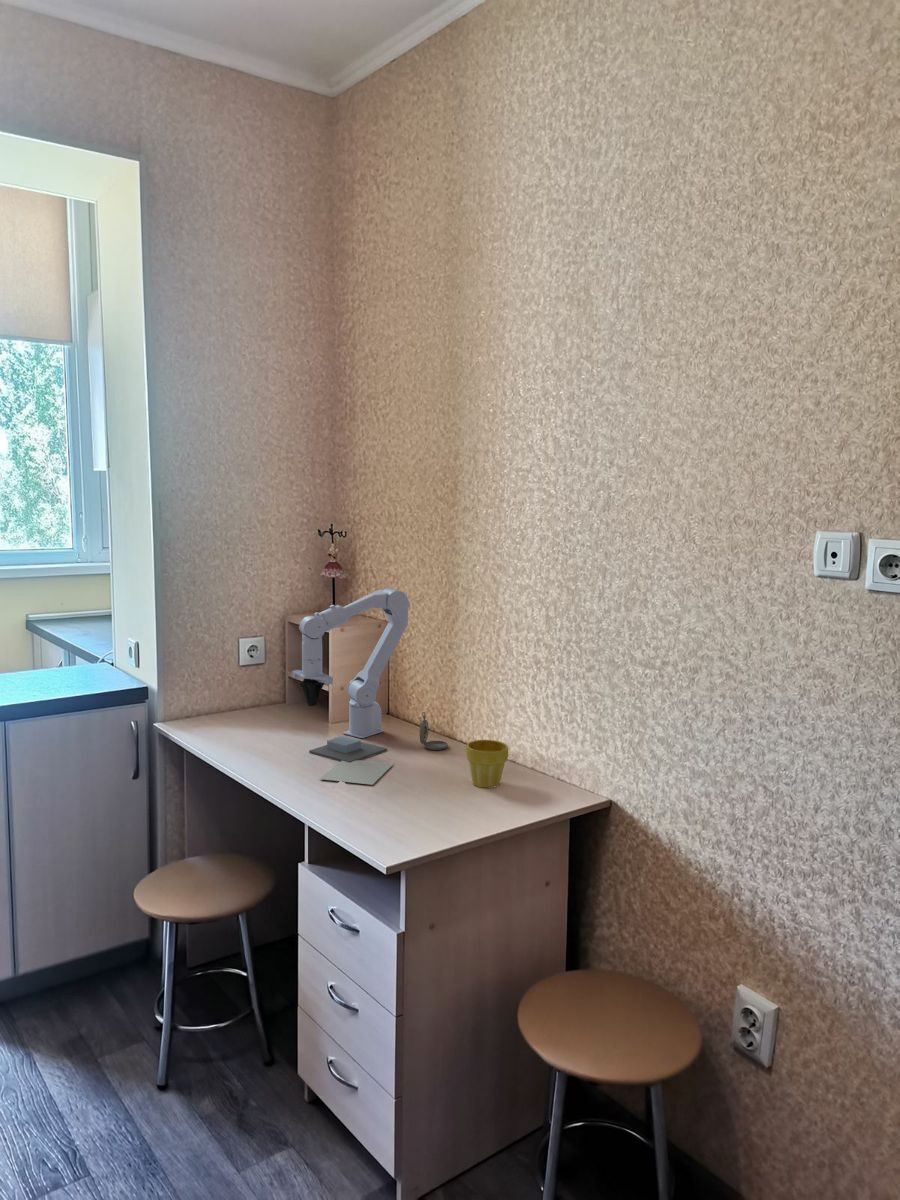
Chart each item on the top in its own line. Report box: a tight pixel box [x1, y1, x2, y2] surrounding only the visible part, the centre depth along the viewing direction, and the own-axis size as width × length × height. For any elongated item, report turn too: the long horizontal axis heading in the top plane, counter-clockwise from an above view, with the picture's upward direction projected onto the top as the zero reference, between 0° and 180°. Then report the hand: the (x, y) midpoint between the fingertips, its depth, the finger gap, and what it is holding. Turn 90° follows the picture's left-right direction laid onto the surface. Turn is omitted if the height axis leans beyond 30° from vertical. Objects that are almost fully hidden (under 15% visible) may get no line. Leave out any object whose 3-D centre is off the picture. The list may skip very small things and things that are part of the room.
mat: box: [308, 741, 388, 762], centre depth 237 cm, size 15×15×1 cm
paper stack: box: [319, 760, 394, 786], centre depth 215 cm, size 23×25×1 cm
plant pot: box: [465, 739, 509, 788], centre depth 213 cm, size 10×10×10 cm
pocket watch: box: [419, 711, 449, 751], centre depth 242 cm, size 8×8×10 cm
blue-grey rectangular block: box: [326, 735, 362, 753], centre depth 238 cm, size 6×2×7 cm
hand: (312, 705), depth 247 cm, fingers closed
